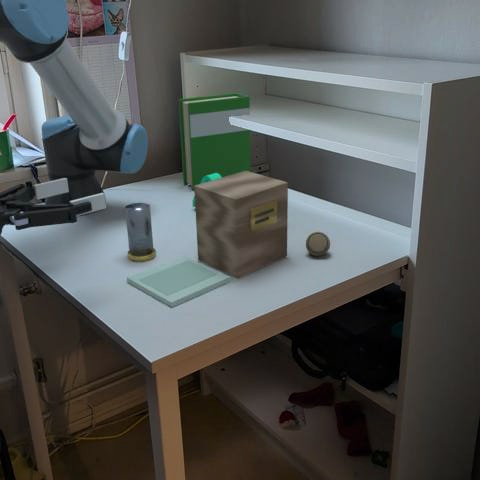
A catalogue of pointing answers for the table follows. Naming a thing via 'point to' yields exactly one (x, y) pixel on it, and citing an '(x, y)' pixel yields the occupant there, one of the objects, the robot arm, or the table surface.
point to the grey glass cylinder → (139, 232)
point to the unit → (241, 222)
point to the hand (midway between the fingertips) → (85, 192)
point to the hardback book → (213, 136)
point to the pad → (178, 280)
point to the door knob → (317, 243)
